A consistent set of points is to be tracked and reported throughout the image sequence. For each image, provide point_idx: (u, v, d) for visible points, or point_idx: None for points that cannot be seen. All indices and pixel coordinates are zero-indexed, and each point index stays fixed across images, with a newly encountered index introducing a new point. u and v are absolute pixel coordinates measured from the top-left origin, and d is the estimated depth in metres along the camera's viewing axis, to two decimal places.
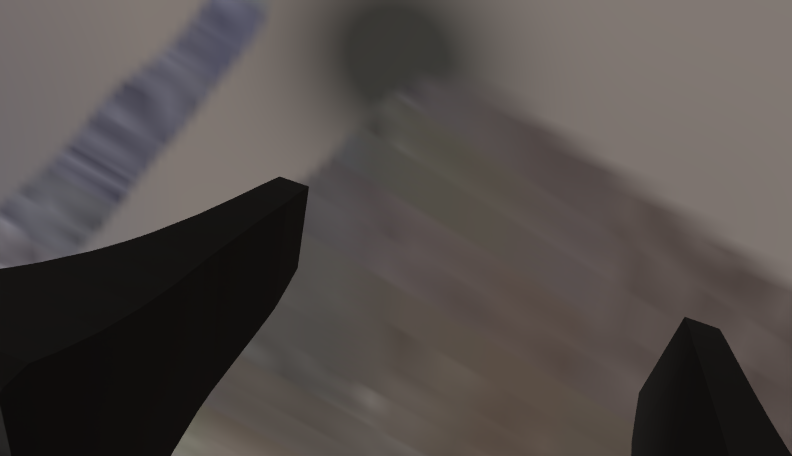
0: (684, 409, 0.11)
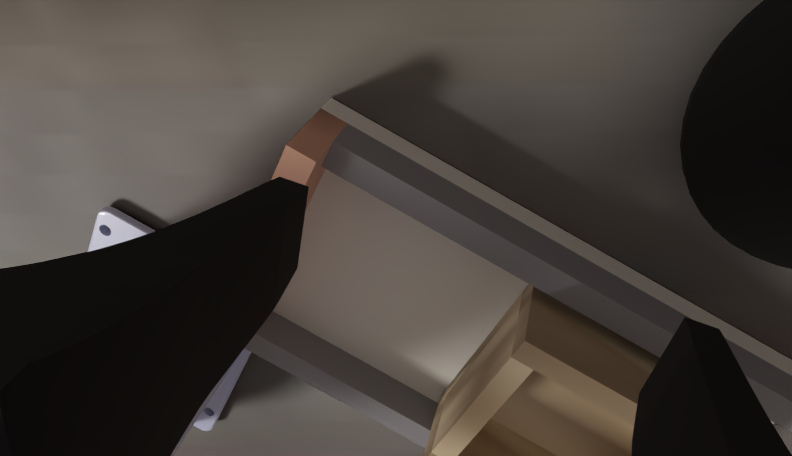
0: (684, 409, 0.11)
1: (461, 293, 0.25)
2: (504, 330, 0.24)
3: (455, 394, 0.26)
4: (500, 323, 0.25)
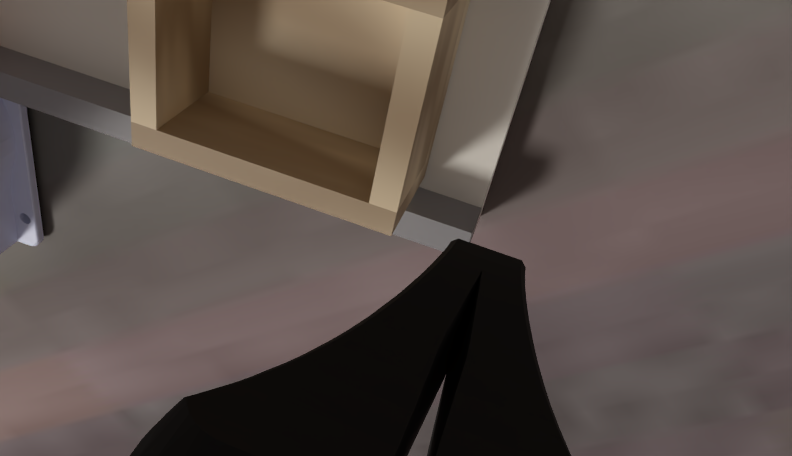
0: (466, 329, 0.11)
1: None
2: None
3: None
4: None
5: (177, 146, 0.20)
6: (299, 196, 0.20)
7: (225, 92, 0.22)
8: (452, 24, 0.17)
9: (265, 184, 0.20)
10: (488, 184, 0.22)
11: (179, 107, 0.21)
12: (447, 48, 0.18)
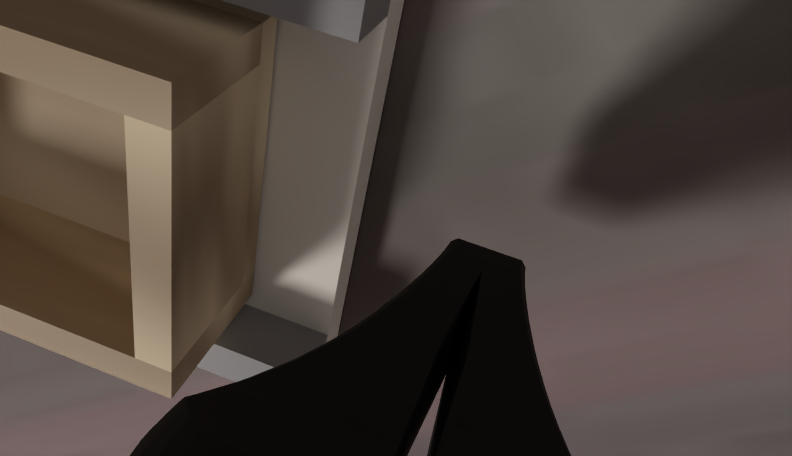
0: (466, 330, 0.11)
1: None
2: None
3: None
4: None
5: None
6: (50, 342, 0.14)
7: None
8: (221, 124, 0.12)
9: (7, 325, 0.15)
10: (331, 307, 0.17)
11: None
12: (223, 154, 0.13)
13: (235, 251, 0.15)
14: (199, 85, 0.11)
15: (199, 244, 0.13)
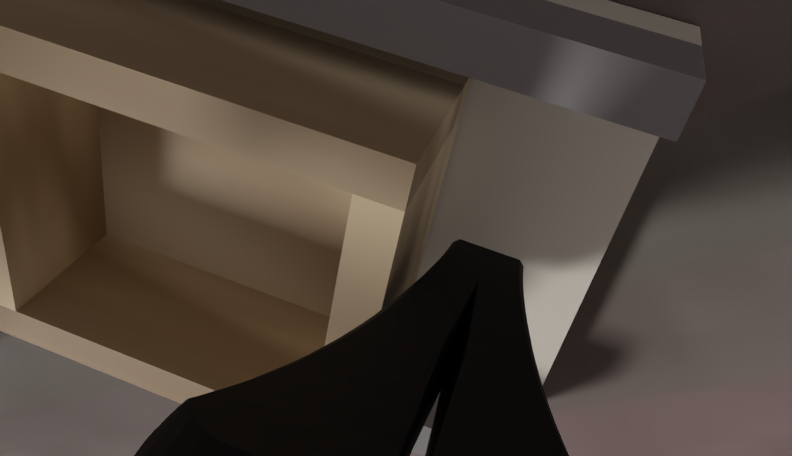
0: (464, 329, 0.11)
1: None
2: None
3: None
4: None
5: (46, 333, 0.14)
6: None
7: (128, 237, 0.16)
8: (425, 194, 0.12)
9: (167, 389, 0.14)
10: None
11: (56, 269, 0.15)
12: (419, 222, 0.12)
13: None
14: (426, 160, 0.10)
15: None
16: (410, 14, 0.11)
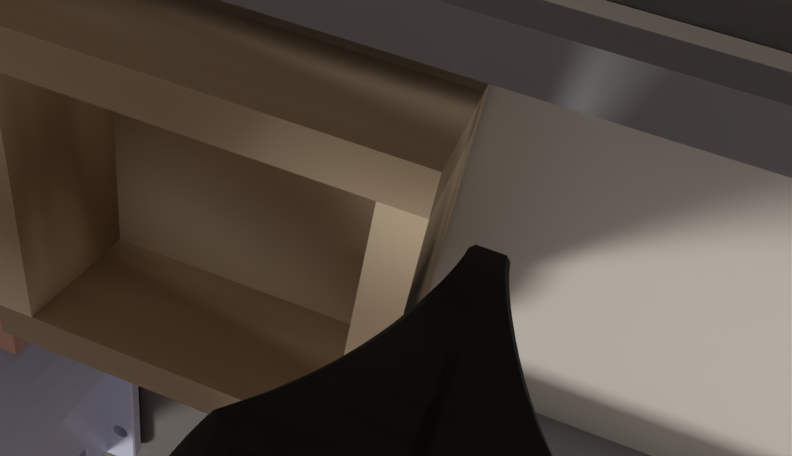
0: None
1: None
2: None
3: None
4: None
5: (62, 339, 0.14)
6: None
7: (141, 242, 0.16)
8: (445, 200, 0.12)
9: (183, 396, 0.14)
10: None
11: (70, 275, 0.15)
12: (438, 228, 0.12)
13: None
14: (449, 168, 0.10)
15: None
16: None
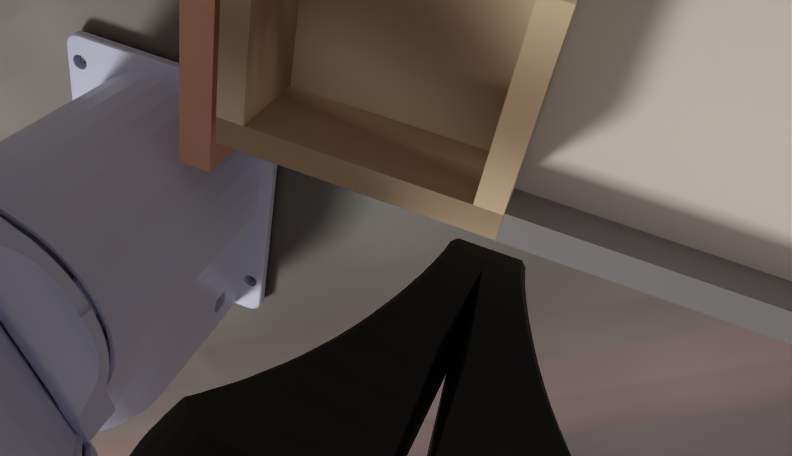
0: (466, 330, 0.11)
1: None
2: None
3: None
4: None
5: (265, 143, 0.19)
6: (395, 197, 0.18)
7: (308, 86, 0.21)
8: (574, 12, 0.16)
9: (358, 184, 0.19)
10: None
11: (264, 102, 0.20)
12: (565, 38, 0.16)
13: (534, 129, 0.19)
14: None
15: (540, 109, 0.17)
16: None
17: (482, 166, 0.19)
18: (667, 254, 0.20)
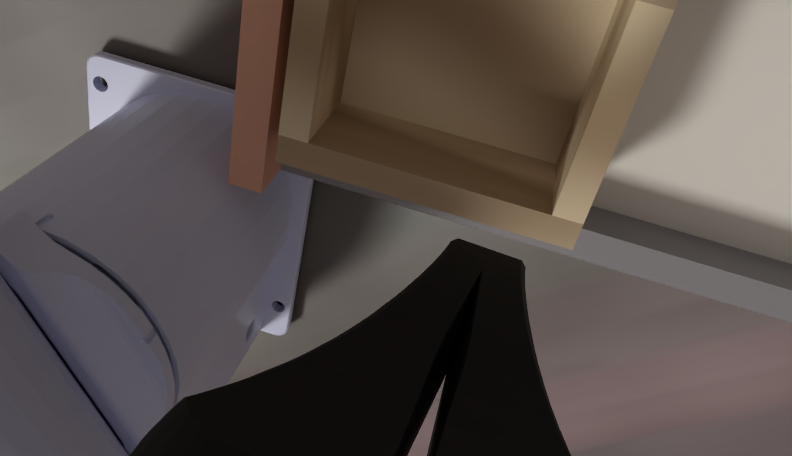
0: (466, 329, 0.11)
1: None
2: None
3: None
4: None
5: (330, 160, 0.18)
6: (469, 210, 0.18)
7: (360, 102, 0.20)
8: None
9: (430, 199, 0.18)
10: None
11: (323, 118, 0.19)
12: None
13: None
14: None
15: None
16: None
17: (547, 177, 0.19)
18: (726, 258, 0.20)
